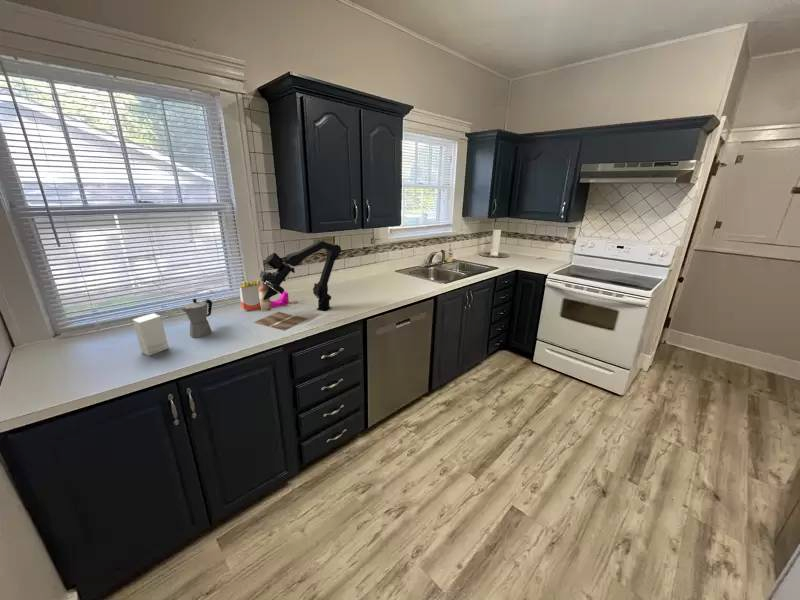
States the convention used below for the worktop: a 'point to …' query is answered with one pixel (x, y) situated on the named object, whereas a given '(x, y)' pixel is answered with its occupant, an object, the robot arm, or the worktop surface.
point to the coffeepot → (198, 318)
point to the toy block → (280, 300)
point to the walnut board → (281, 321)
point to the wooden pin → (263, 303)
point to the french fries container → (250, 295)
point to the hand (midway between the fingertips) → (262, 298)
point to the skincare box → (150, 334)
